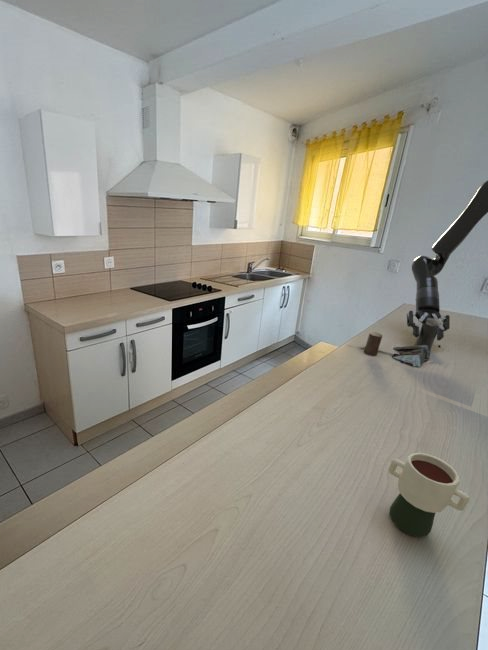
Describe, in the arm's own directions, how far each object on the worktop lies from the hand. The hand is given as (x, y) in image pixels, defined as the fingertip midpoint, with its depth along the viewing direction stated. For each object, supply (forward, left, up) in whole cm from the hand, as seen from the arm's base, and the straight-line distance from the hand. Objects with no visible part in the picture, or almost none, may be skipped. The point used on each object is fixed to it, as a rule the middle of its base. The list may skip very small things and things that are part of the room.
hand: (428, 338), depth 123 cm
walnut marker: (+18, +10, -7) cm, 22 cm away
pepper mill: (0, -2, -7) cm, 7 cm away
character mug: (+13, +88, -7) cm, 90 cm away
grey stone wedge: (+6, +10, -7) cm, 14 cm away
